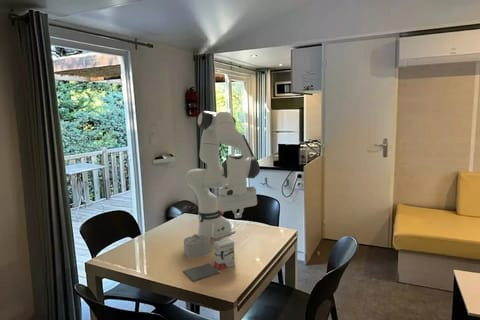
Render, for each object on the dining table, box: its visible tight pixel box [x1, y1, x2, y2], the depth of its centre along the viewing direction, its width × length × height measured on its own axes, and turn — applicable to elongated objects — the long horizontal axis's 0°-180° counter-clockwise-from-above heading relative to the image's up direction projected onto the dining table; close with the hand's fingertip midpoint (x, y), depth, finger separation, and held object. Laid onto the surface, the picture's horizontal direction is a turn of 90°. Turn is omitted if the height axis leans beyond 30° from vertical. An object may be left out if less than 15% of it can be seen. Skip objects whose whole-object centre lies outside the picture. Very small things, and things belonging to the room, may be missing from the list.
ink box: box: [213, 238, 236, 271], centre depth 159 cm, size 8×5×12 cm, turn 123°
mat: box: [182, 263, 221, 282], centre depth 153 cm, size 13×11×1 cm
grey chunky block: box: [183, 233, 212, 259], centre depth 174 cm, size 10×13×9 cm
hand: (238, 217), depth 160 cm, fingers closed
